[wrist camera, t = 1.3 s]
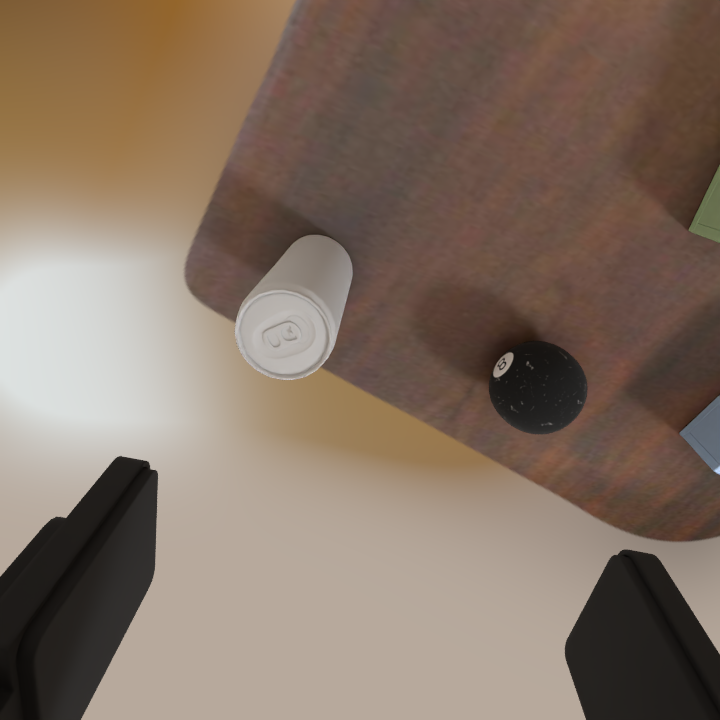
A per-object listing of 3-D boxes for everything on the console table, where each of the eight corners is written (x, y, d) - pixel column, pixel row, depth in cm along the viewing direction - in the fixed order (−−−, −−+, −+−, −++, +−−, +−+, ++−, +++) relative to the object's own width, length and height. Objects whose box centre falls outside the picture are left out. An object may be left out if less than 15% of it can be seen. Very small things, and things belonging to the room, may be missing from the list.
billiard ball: (529, 417, 38) (552, 466, 33) (466, 376, 37) (479, 420, 32) (587, 358, 36) (621, 400, 31) (522, 312, 35) (545, 348, 30)
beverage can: (365, 286, 35) (352, 361, 24) (302, 313, 36) (263, 396, 25) (334, 220, 33) (304, 269, 22) (269, 250, 34) (211, 311, 23)
